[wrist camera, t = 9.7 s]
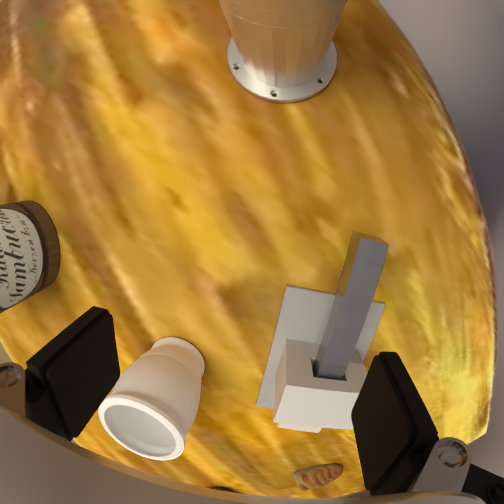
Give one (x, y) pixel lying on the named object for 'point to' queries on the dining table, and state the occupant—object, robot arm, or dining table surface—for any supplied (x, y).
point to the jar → (156, 400)
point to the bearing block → (302, 359)
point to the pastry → (317, 476)
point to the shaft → (350, 305)
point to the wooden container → (26, 252)
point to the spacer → (299, 427)
